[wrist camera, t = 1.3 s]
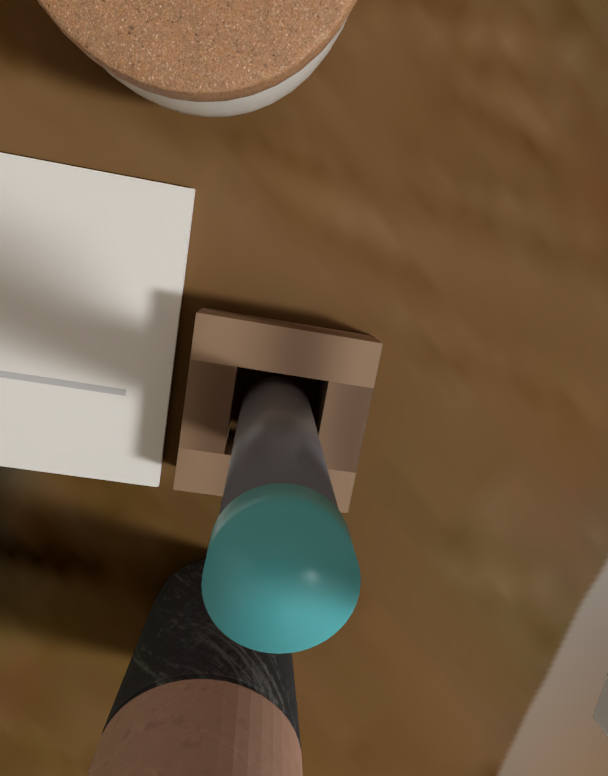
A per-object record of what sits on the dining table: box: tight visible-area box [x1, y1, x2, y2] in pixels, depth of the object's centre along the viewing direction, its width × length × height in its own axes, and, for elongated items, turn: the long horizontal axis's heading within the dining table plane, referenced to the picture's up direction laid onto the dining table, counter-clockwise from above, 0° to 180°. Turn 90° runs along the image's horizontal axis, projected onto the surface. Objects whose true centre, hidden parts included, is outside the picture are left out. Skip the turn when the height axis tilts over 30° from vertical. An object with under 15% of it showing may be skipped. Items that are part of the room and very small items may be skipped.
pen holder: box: [173, 307, 383, 513], centre depth 25 cm, size 8×8×2 cm
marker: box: [201, 376, 361, 654], centre depth 19 cm, size 3×3×15 cm
